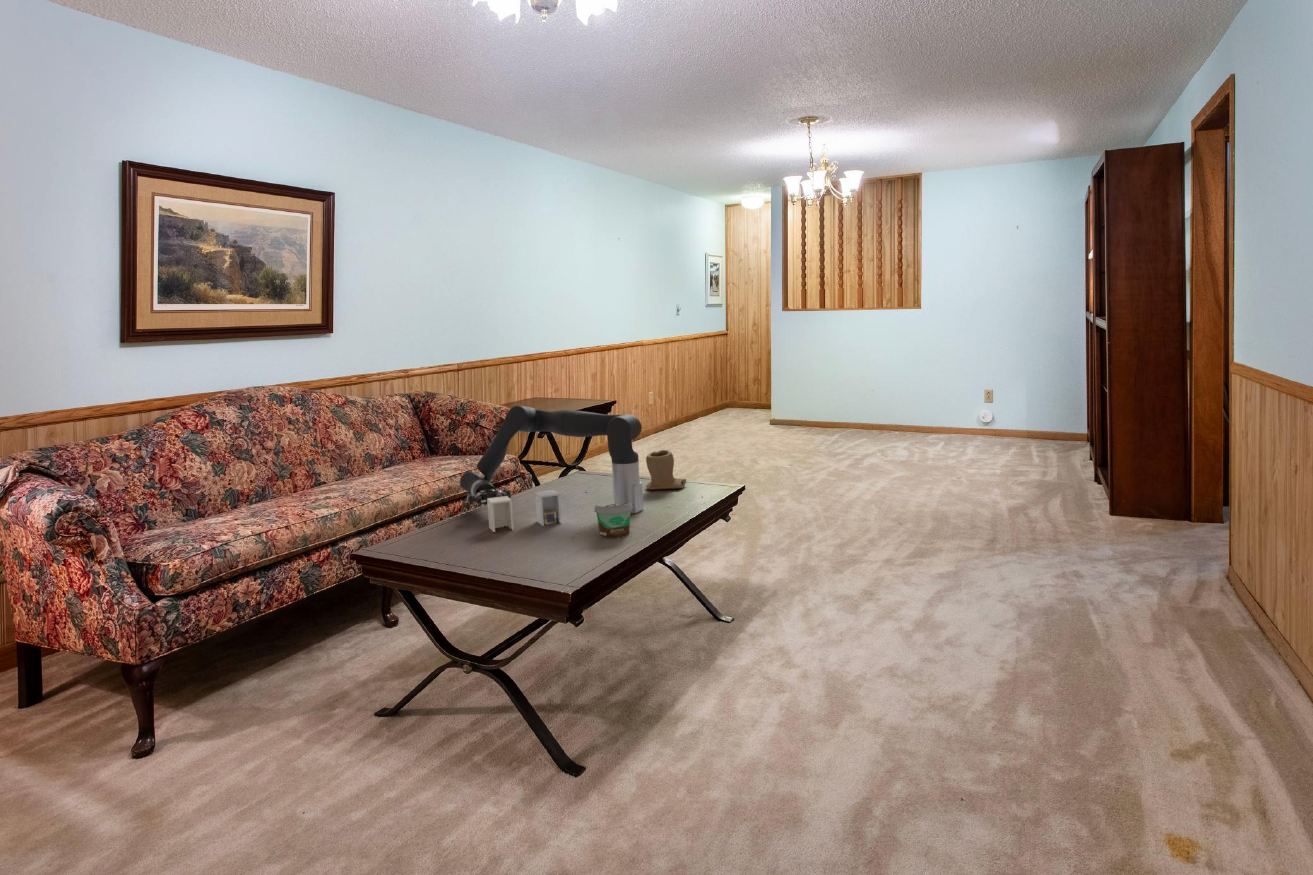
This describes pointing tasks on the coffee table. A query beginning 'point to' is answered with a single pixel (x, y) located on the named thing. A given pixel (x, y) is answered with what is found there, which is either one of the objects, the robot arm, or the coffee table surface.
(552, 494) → the cover
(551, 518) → the letter cube
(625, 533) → the food container
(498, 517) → the cover
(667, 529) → the coffee table surface
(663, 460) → the brown boot-shaped piece
